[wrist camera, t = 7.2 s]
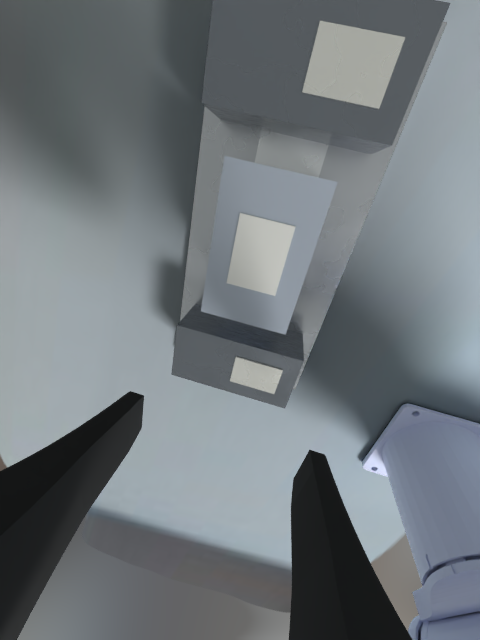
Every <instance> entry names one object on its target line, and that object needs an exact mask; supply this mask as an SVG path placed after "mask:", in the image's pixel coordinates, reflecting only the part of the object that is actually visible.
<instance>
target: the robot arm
mask: <svg viewBox="0 0 480 640" xmlns="http://www.w3.org/2000/svg"><path fill="white" fill-rule="evenodd" d="M143 402H144V396H143V395H140V394H137V393H134V392H131V391H130V392H128V393H127V394H125V395H124V396H123V397H121V398H120V399H119V400H117V401H116V402H114V403H113V404H112V405H110V406H109V407H107V408H106V409H105V410H103V411H102V412H100V413H99V414H98V415H96V416H95V417H93V418H92V419H90V420H89V421H87V422H86V423H84V424H83V425H81V426H80V427H78V428H76V429H75V430H73V431H72V432H70V433H68V434H67V435H65V436H64V437H62V438H60V439H59V440H57V441H55V442H54V443H52V444H50V445H49V446H47V447H45V448H43V449H42V450H40V451H38V452H36V453H35V454H33V455H31V456H29V457H27V458H25V459H23V460H22V461H20V462H18V463H16V464H14V465H12V466H10V467H8V468H6V469H4V470H2V471H0V640H17V638H18V636H19V635H20V633H21V631H22V628H23V627H24V625H25V623H26V621H27V619H28V617H29V615H30V613H31V612H32V610H33V608H34V606H35V604H36V602H37V600H38V599H39V597H40V595H41V593H42V591H43V589H44V588H45V586H46V584H47V582H48V580H49V578H50V576H51V575H52V573H53V571H54V569H55V567H56V566H57V564H58V562H59V560H60V559H61V557H62V555H63V553H64V551H65V550H66V548H67V546H68V544H69V542H70V541H71V539H72V537H73V536H74V534H75V532H76V531H77V529H78V527H79V525H80V524H81V522H82V520H83V518H84V517H85V515H86V514H87V512H88V511H89V509H90V507H91V506H92V504H93V503H94V501H95V500H96V499H97V497H98V496H99V494H100V493H101V491H102V490H103V488H104V487H105V486H106V484H107V483H108V481H109V480H110V478H111V477H112V475H113V474H114V472H115V471H116V470H117V468H118V467H119V465H120V464H121V462H122V461H123V459H124V458H125V456H126V455H127V453H128V452H129V450H130V448H131V447H132V445H133V443H134V441H135V439H136V437H137V436H138V434H139V432H140V430H141V428H142V415H143ZM415 411H417V412H415ZM413 412H414V413H413ZM362 466H363V468H364V469H365V470H368V471H371V472H374V473H377V474H381V475H384V476H387V477H388V478H389V481H390V484H391V487H392V491H393V494H394V497H395V500H396V503H397V506H398V510H399V513H400V516H401V519H402V522H403V525H404V529H405V532H406V535H407V538H408V541H409V544H410V548H411V551H412V553H413V557H414V560H415V563H416V566H417V570H418V573H419V576H420V579H421V582H422V585H423V587H422V588H420V589H418V590H415V591H413V592H412V593H413V596H414V599H415V603H416V606H417V610H418V614H419V615H418V616H417V617H415V618H414V619H413V620H412V622H411V623H410V626H409V629H408V631H407V630H406V628H405V626H404V625H403V623H402V621H401V620H400V618H399V616H398V614H397V613H396V611H395V609H394V607H393V605H392V603H391V602H390V600H389V598H388V596H387V594H386V593H385V591H384V589H383V587H382V585H381V583H380V581H379V579H378V577H377V576H376V574H375V572H374V570H373V568H372V566H371V564H370V562H369V560H368V557H367V555H366V553H365V551H364V549H363V547H362V545H361V543H360V541H359V538H358V536H357V534H356V532H355V529H354V527H353V525H352V523H351V520H350V518H349V516H348V513H347V511H346V508H345V506H344V504H343V501H342V499H341V496H340V494H339V491H338V488H337V486H336V483H335V481H334V478H333V475H332V473H331V470H330V467H329V464H328V461H327V459H326V456H325V455H324V454H321V453H318V452H315V451H312V450H309V452H308V454H307V456H306V458H305V459H304V461H303V463H302V465H301V466H300V468H299V470H298V472H297V474H296V475H295V477H294V480H293V490H292V502H291V540H292V599H291V615H290V631H289V640H480V424H479V423H475V422H472V421H468V420H465V419H461V418H458V417H454V416H451V415H447V414H444V413H440V412H437V411H434V410H430V409H427V408H423V407H420V406H416V405H413V404H404V405H402V406H401V407H400V409H399V410H398V411H397V413H396V414H395V416H394V417H393V419H392V420H391V421H390V423H389V424H388V426H387V427H386V429H385V430H384V431H383V433H382V434H381V436H380V437H379V439H378V440H377V441H376V443H375V444H374V446H373V447H372V449H371V450H370V451H369V453H368V454H367V456H366V457H365V459H364V460H363V461H362Z"/></svg>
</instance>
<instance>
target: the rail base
mask: <svg viewBox="0 0 480 640" xmlns="http://www.w3.org/2000/svg"><path fill="white" fill-rule="evenodd" d="M449 5H450V3H447V2H441V1H436V0H213V1H212V10H211V19H210V29H209V38H208V47H207V56H206V65H205V74H204V83H203V92H202V101H201V103H202V104H203V105H204V106H205V107H204V116H203V125H202V133H201V142H200V151H199V159H198V168H197V177H196V185H195V194H194V203H193V212H192V220H191V229H190V238H189V246H188V255H187V264H186V272H185V281H184V290H183V299H182V307H181V316H180V322H179V323H178V325H177V329H176V338H175V347H174V357H173V366H172V375H175V376H178V377H181V378H185V379H188V380H192V381H195V382H198V383H202V384H205V385H208V386H212V387H215V388H218V389H222V390H225V391H228V392H232V393H235V394H238V395H242V396H245V397H248V398H252V399H255V400H258V401H262V402H265V403H268V404H272V405H275V406H279V407H282V408H285V407H286V404H287V402H288V400H289V397H290V395H291V392H292V390H293V389H296V386H297V384H298V381H299V379H300V377H301V374H302V372H303V369H304V367H305V364H306V362H307V360H308V357H309V355H310V352H311V350H312V348H313V345H314V343H315V340H316V338H317V335H318V333H319V331H320V328H321V326H322V323H323V321H324V319H325V316H326V314H327V311H328V309H329V307H330V304H331V302H332V299H333V297H334V294H335V292H336V290H337V287H338V285H339V282H340V280H341V278H342V275H343V273H344V270H345V268H346V266H347V263H348V261H349V258H350V256H351V253H352V251H353V249H354V246H355V244H356V241H357V239H358V237H359V234H360V232H361V229H362V227H363V224H364V222H365V220H366V217H367V215H368V212H369V210H370V208H371V205H372V203H373V200H374V198H375V196H376V193H377V191H378V188H379V186H380V183H381V181H382V179H383V176H384V174H385V171H386V169H387V167H388V164H389V162H390V159H391V157H392V155H393V152H394V150H395V147H396V145H397V142H398V140H399V138H400V135H401V133H402V130H403V128H404V126H405V123H406V121H407V118H408V116H409V113H410V111H411V109H412V106H413V104H414V101H415V99H416V97H417V94H418V92H419V89H420V87H421V85H422V82H423V80H424V77H425V75H426V72H427V70H428V68H429V65H430V63H431V60H432V58H433V56H434V53H435V51H436V48H437V46H438V44H439V41H440V39H441V36H442V34H443V31H444V29H445V27H446V24H447V22H443V20H444V17H445V15H446V12H447V10H448V8H449ZM224 156H228V157H232V158H236V159H241V160H245V161H249V162H254V163H258V164H262V165H266V166H271V167H275V168H279V169H284V170H288V171H292V172H296V173H301V174H305V175H309V176H314V177H318V178H322V179H327V180H331V181H335V182H338V183H337V186H336V188H335V191H334V194H333V197H332V200H331V203H330V206H329V209H328V212H327V215H326V218H325V221H324V224H323V226H322V229H321V232H320V235H319V238H318V241H317V244H316V247H315V250H314V253H313V256H312V259H311V262H310V265H309V267H308V270H307V273H306V276H305V279H304V282H303V285H302V288H301V291H300V294H299V297H298V300H297V303H296V306H295V308H294V311H293V314H292V317H291V320H290V323H289V326H288V329H287V332H286V335H285V334H281V333H277V332H274V331H270V330H266V329H263V328H259V327H256V326H252V325H248V324H245V323H241V322H238V321H234V320H230V319H227V318H223V317H220V316H216V315H212V314H209V313H205V312H201V307H202V300H203V294H204V287H205V280H206V274H207V267H208V261H209V254H210V248H211V241H212V234H213V228H214V221H215V215H216V208H217V202H218V195H219V189H220V182H221V175H222V169H223V162H224Z"/></svg>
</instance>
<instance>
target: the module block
mask: <svg viewBox="0 0 480 640" xmlns="http://www.w3.org/2000/svg"><path fill="white" fill-rule="evenodd" d="M337 183H338V182H335V181H331V180H327V179H322V178H318V177H314V176H309V175H305V174H301V173H296V172H292V171H288V170H284V169H279V168H275V167H271V166H266V165H262V164H258V163H254V162H249V161H245V160H241V159H236V158H232V157H228V156H224V162H223V169H222V175H221V182H220V189H219V195H218V202H217V208H216V215H215V221H214V228H213V234H212V241H211V248H210V254H209V261H208V267H207V274H206V280H205V287H204V294H203V300H202V307H201V312H205V313H209V314H212V315H216V316H220V317H223V318H227V319H230V320H234V321H238V322H241V323H245V324H248V325H252V326H256V327H259V328H263V329H266V330H270V331H274V332H277V333H281V334H285V335H286V332H287V329H288V326H289V323H290V320H291V317H292V314H293V311H294V308H295V306H296V303H297V300H298V297H299V294H300V291H301V288H302V285H303V282H304V279H305V276H306V273H307V270H308V267H309V265H310V262H311V259H312V256H313V253H314V250H315V247H316V244H317V241H318V238H319V235H320V232H321V229H322V226H323V224H324V221H325V218H326V215H327V212H328V209H329V206H330V203H331V200H332V197H333V194H334V191H335V188H336V186H337Z"/></svg>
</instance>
